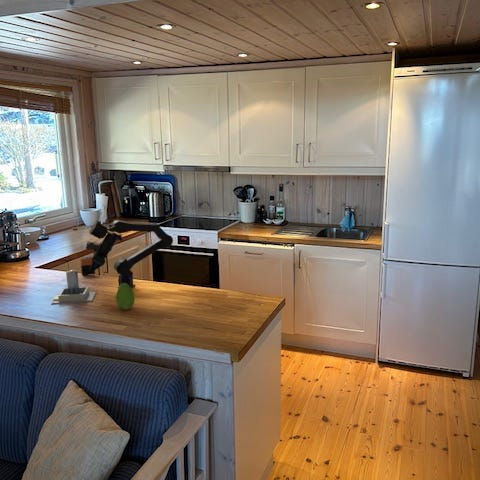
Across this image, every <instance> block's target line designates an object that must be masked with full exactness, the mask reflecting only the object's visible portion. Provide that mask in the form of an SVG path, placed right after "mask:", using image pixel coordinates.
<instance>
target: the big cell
mask: <svg viewBox="0 0 480 480" xmlns="http://www.w3.org/2000/svg"><path fill="white" fill-rule="evenodd" d="M65 274H66V283H67V284H66V285H67V288H68V295H71V294H80V292H79V287H80V283H79V275H78V274H79V273H78V270H75V269H71V270H70V269H69V270H67V271H65Z"/></svg>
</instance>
